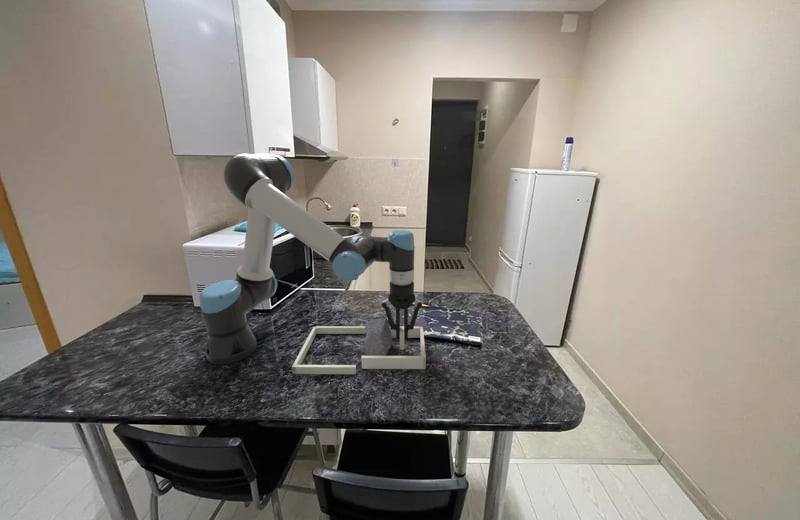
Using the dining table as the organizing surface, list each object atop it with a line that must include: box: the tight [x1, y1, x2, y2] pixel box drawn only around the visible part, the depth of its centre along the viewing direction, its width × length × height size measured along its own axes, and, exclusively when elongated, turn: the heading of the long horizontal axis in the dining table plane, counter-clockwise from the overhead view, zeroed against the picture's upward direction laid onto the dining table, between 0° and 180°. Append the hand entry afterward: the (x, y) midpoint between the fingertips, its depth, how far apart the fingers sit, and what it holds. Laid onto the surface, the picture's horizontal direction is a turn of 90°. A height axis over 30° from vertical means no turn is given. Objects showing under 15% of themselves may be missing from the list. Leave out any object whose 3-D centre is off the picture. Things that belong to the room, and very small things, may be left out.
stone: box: [364, 316, 393, 356], centre depth 100 cm, size 12×10×10 cm
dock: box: [360, 325, 427, 370], centre depth 101 cm, size 20×18×4 cm
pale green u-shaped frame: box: [291, 325, 367, 375], centre depth 102 cm, size 19×23×2 cm
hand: (402, 346), depth 101 cm, fingers closed
